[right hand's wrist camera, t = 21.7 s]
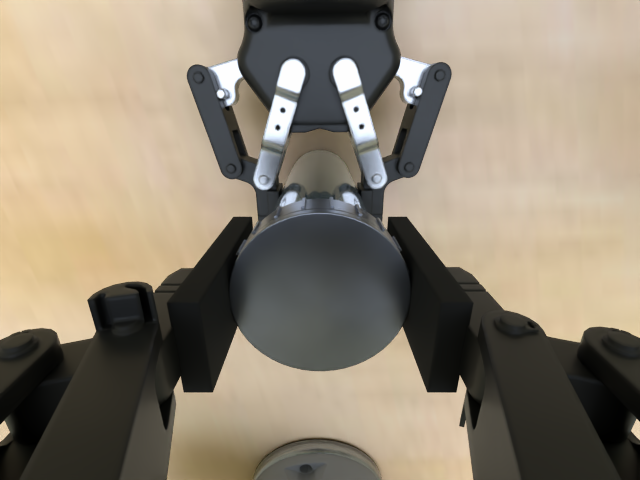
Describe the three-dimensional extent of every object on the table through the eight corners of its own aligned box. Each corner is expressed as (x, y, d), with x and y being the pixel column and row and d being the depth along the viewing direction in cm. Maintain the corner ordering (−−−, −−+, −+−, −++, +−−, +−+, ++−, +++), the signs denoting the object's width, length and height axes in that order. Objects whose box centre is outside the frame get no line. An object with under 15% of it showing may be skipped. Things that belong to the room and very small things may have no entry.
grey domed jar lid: (217, 212, 11) (201, 228, 10) (394, 181, 11) (406, 193, 9) (259, 352, 13) (252, 383, 12) (408, 331, 13) (420, 360, 11)
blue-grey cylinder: (306, 219, 28) (289, 365, 12) (279, 166, 27) (218, 256, 11) (359, 194, 27) (414, 316, 12) (334, 138, 26) (358, 191, 10)
